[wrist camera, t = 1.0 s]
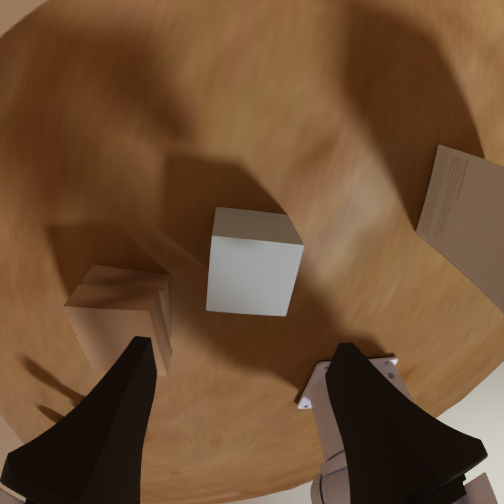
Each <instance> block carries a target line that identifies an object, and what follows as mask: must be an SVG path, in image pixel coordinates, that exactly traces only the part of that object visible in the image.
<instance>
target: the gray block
mask: <svg viewBox="0 0 504 504" xmlns="http://www.w3.org/2000/svg"><path fill="white" fill-rule="evenodd" d="M303 249H304V244H303V242H302V240H301V238H300V236H299V234H298V233H297V231H296V229H295V227H294V225H293V223H292V222H291V220H290V218H289V216H288V215H285V214H277V213H269V212H261V211H252V210H244V209H235V208H225V207H216V212H215V218H214V225H213V232H212V241H211V252H210V264H209V276H208V289H207V303H206V311H215V312H227V313H240V314H254V315H271V316H286V314H287V310H288V306H289V303H290V299H291V295H292V292H293V288H294V284H295V280H296V276H297V272H298V269H299V265H300V261H301V257H302V253H303Z"/></svg>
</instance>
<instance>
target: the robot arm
mask: <svg viewBox="0 0 504 504" xmlns="http://www.w3.org/2000/svg"><path fill="white" fill-rule="evenodd" d="M397 361H398V359H397V357H387V358H377V359H367V357H366V356H365V355H364V354H363V353H362V352H361V351H360V350H359V349H358V348H357V347H356V346H355V345H354V344H353V343H339V344H338V347H337V349H336V351H335V354H334V356H333V358H332V360H331V361H328V362H319V363H318V364H317V365H316V367H315V369H314V371H313V373H312V375H311V378H310V380H309V382H308V384H307V386H306V388H305V390H304V392H303V394H302V396H301V398H300V400H299V402H298V404H297V407H298V408H299V409H306V408H312V410H313V414H314V418H315V422H316V426H317V430H318V434H319V439H320V443H321V447H322V451H323V455H324V459H325V463H323V464H320V469H321V473H318V474H317V475H316V476H315V478H314V481H313V483H312V485H311V500H312V504H498V503H497V500H496V497H495V495H494V492H493V490H492V487H491V485H490V482H489V480H488V477H487V475H486V473H482V474H481V475H480V476H478V477H476V478H475V479H474V480H472V481H471V482H469V483H467V484H466V485H463V481H465V480H466V477H465V475H464V474H465V473H466V472H468V471H469V470H471V469H472V468H473V467H475V466H476V465H478V464H479V463H480V462H482V461H483V460H484V459H485V458H487V456H488V454H487V452H486V449H485V448H484V445H483V443H482V442H481V440H480V439H477V438H474V437H471V436H469V435H466V434H464V433H462V432H459V431H457V430H455V429H453V428H451V427H449V426H447V425H445V424H444V423H442V422H440V421H439V420H437V419H436V418H434V417H432V416H431V415H429V414H428V413H426V412H425V411H424V410H422V409H421V408H420V407H418V406H417V405H416V404H414V402H413V400H412V398H411V396H410V394H409V392H408V390H407V388H406V386H405V384H404V382H403V380H402V378H401V376H400V374H399V372H398V370H397V368H396V367H395V364H396V363H397ZM156 378H157V368H156V363H155V357H154V352H153V347H152V341H151V338H150V337H142V336H135V337H133V339H132V340H131V342H130V343H129V344H128V346H127V347H126V349H125V350H124V351H123V353H122V354H121V355H120V357H119V358H118V359H117V361H116V362H115V363H114V364H113V366H112V367H111V368H110V369H109V371H108V372H107V373H106V374H105V376H104V377H103V378H102V379H101V380H100V382H99V383H98V384H97V385H96V386H95V387H94V388H93V389H92V391H91V392H90V393H89V394H88V395H87V396H86V397H85V398H84V399H83V400H82V401H81V402H80V403H79V404H78V405H77V406H76V407H75V408H74V409H73V410H72V411H71V412H69V413H68V414H67V415H66V416H65V417H64V418H62V419H61V420H60V421H59V422H58V423H56V424H55V425H54V426H52V427H51V428H50V429H48V430H47V431H45V432H44V433H42V434H41V435H40V436H38V437H37V438H35V439H34V440H32V441H30V442H29V443H27V444H25V445H23V446H21V447H19V448H18V449H16V450H14V451H12V452H10V453H8V455H7V458H6V461H5V464H4V467H3V471H2V475H1V478H0V482H1V483H2V484H3V485H5V486H6V487H8V488H10V489H11V490H13V491H15V492H16V493H18V494H20V495H22V496H24V497H25V498H26V502H24V501H22V500H19V499H18V498H16V497H14V496H13V495H11V494H9V493H8V492H6V491H4V490H2V489H1V488H0V504H140V477H141V460H142V449H143V443H144V438H145V433H146V429H147V424H148V420H149V416H150V411H151V407H152V403H153V399H154V394H155V386H156Z"/></svg>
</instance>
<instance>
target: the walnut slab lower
mask: <svg viewBox="0 0 504 504" xmlns="http://www.w3.org/2000/svg"><path fill="white" fill-rule="evenodd" d="M82 283H83V285H124V286H158V289H159V295H160V300H161V305H162V310H163V314H164V319H165V323H166V328H167V332H168V337H169V341H170V338H171V320H170V274H166V273H157V272H148V271H140V270H132V269H124V268H116V267H108V266H101V265H92V267H91V268H90V269H89V271H88V272H87V273H86V275H85V276H84V277H83V279H82Z"/></svg>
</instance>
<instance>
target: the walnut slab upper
mask: <svg viewBox="0 0 504 504" xmlns="http://www.w3.org/2000/svg"><path fill="white" fill-rule="evenodd" d="M64 309H65V311H66V314H67V316H68V318H69V321H70V323H71V325H72V328H73V330H74V332H75V334H76V336H77V339H78V341H79V343H80V345H81V347H82V349H83V351H84V353H85V355H86V357H87V359H88V361H89V363H90V365H91V367H92V368H93V369H96V370H103V371H109V369H110V368H111V367H112V366H113V364H114V363H115V362H116V361H117V359H118V358H119V357H120V355H121V354H122V353H123V351H124V350H125V349H126V347H127V346H128V344H129V343H130V342H131V340H132V339H133V337H135V336H142V337H150V338H151V341H152V347H153V352H154V357H155V363H156V368H157V376H167V377H168V371H169V365H170V360H171V354H172V349H171V345H170V341H169V337H168V332H167V328H166V323H165V319H164V314H163V310H162V305H161V300H160V295H159V289H158V286H124V285H82V284H79V285H78V286H77V287H76V289H75V290H74V292H73V293H72V294H71V296H70V297H69V299H68V300H67V302H66V303H65V305H64Z"/></svg>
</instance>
